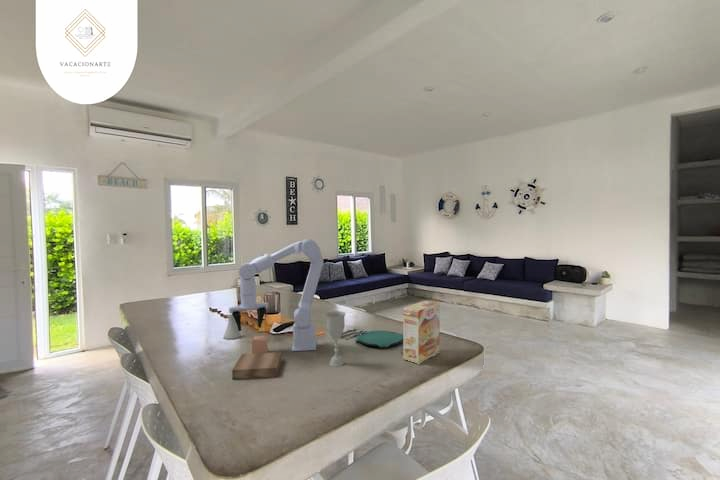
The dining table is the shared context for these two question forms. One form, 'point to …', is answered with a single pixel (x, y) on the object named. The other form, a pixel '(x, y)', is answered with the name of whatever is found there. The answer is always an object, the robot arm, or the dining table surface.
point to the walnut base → (257, 365)
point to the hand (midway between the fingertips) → (249, 328)
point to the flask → (231, 329)
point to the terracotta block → (260, 344)
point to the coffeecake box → (421, 331)
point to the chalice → (335, 333)
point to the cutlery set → (376, 338)
